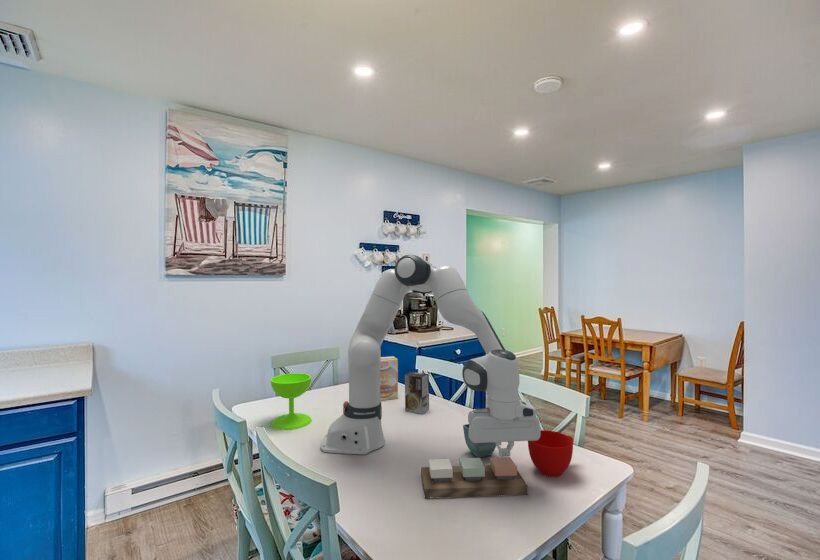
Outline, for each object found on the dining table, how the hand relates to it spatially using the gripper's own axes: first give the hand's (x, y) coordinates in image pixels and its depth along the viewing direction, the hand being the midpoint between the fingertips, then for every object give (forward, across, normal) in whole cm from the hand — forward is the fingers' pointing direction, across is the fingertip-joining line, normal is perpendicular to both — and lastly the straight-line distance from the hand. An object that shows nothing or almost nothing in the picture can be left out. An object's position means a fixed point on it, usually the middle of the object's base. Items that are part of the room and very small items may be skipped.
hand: (504, 455), depth 113 cm
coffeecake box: (+8, -36, +80) cm, 88 cm away
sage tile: (+6, -10, 0) cm, 12 cm away
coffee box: (+8, -20, +62) cm, 66 cm away
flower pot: (+8, -2, +19) cm, 21 cm away
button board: (+8, -10, 0) cm, 12 cm away
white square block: (+6, -19, 0) cm, 20 cm away
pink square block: (+7, -1, 0) cm, 7 cm away
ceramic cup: (+8, +17, +6) cm, 20 cm away
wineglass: (+7, -72, +52) cm, 89 cm away
